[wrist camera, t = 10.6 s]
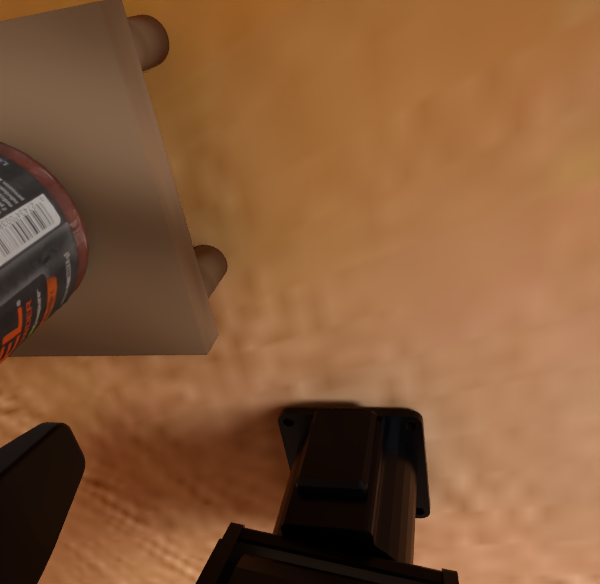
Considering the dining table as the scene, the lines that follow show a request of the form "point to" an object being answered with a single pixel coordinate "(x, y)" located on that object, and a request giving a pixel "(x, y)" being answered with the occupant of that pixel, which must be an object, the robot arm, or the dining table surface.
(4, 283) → the supplement bottle
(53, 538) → the robot arm
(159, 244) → the footstool
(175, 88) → the dining table surface
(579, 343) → the dining table surface
